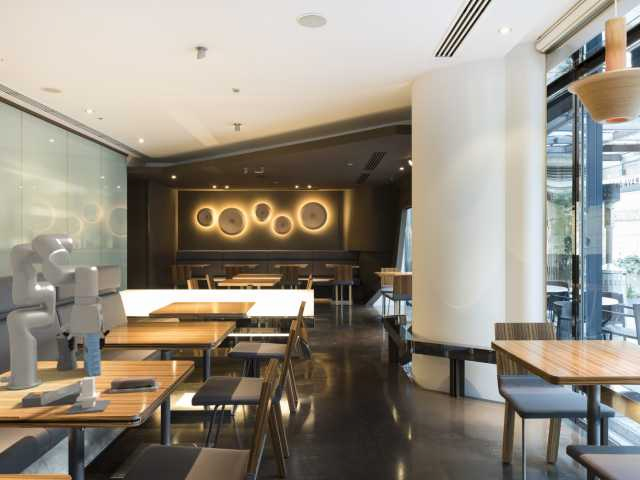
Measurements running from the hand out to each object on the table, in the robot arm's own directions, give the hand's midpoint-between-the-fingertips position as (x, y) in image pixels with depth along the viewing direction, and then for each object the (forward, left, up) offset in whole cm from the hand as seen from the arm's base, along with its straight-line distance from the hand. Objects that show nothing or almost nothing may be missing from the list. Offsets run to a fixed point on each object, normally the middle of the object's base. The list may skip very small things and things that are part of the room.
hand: (87, 349), depth 176 cm
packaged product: (+13, +20, -21) cm, 32 cm away
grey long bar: (-8, +1, -16) cm, 18 cm away
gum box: (-12, +55, -21) cm, 60 cm away
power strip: (-13, +11, -20) cm, 26 cm away
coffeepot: (-26, +66, -21) cm, 73 cm away
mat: (0, 0, -20) cm, 20 cm away
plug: (0, 0, -20) cm, 20 cm away
